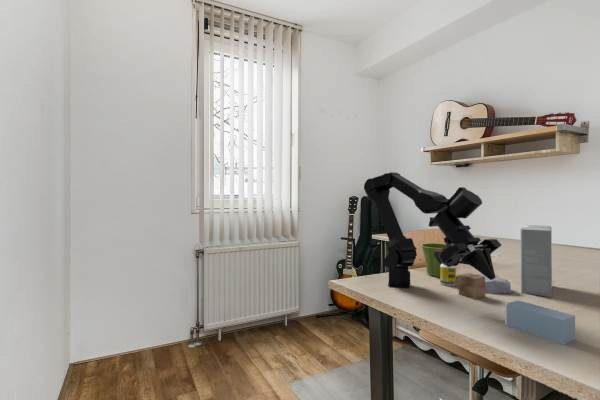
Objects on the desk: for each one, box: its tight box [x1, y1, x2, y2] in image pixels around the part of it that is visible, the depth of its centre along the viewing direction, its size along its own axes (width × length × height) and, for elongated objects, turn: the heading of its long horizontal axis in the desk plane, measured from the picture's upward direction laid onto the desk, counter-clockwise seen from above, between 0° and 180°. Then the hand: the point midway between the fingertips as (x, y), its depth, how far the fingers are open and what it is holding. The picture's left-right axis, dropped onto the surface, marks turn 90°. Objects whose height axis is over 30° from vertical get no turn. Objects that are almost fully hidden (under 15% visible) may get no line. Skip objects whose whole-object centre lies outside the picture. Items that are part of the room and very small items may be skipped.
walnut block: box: [458, 272, 486, 300], centre depth 92 cm, size 5×5×6 cm
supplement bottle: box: [439, 263, 457, 287], centre depth 104 cm, size 5×5×8 cm
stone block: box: [475, 273, 512, 294], centre depth 100 cm, size 12×5×10 cm
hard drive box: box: [519, 224, 553, 298], centre depth 98 cm, size 16×8×20 cm, turn 141°
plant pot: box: [420, 242, 446, 278], centre depth 116 cm, size 12×12×11 cm
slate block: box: [504, 299, 576, 346], centre depth 67 cm, size 5×5×11 cm
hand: (493, 278), depth 76 cm, fingers closed
